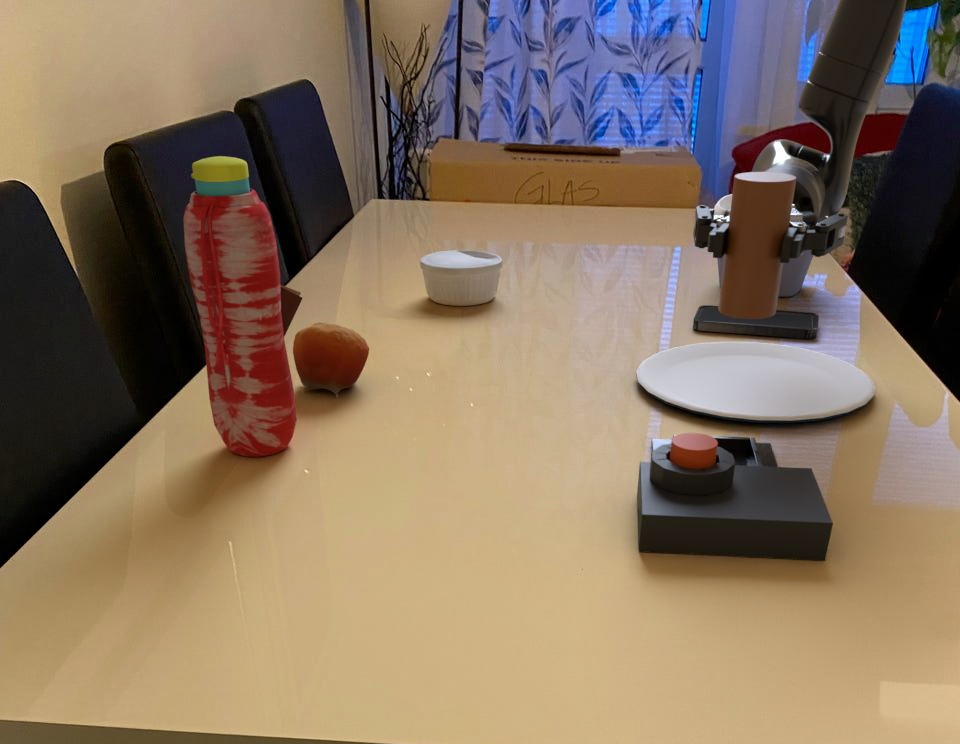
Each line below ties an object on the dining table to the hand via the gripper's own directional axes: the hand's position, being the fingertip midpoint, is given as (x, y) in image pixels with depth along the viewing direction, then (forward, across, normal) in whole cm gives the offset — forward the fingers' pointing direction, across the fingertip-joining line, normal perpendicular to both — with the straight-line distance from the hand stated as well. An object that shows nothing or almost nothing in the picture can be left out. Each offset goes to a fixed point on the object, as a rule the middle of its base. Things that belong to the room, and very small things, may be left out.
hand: (752, 247), depth 83 cm
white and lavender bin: (-60, -6, +18) cm, 63 cm away
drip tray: (+5, 0, +18) cm, 19 cm away
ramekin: (-41, -44, +18) cm, 62 cm away
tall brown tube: (-3, 0, +6) cm, 6 cm away
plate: (-18, 0, +18) cm, 25 cm away
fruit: (-2, -43, +18) cm, 47 cm away
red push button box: (+16, +3, +18) cm, 24 cm away
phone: (-41, -3, +18) cm, 44 cm away
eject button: (+15, -1, +13) cm, 20 cm away
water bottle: (+13, -42, +18) cm, 47 cm away
